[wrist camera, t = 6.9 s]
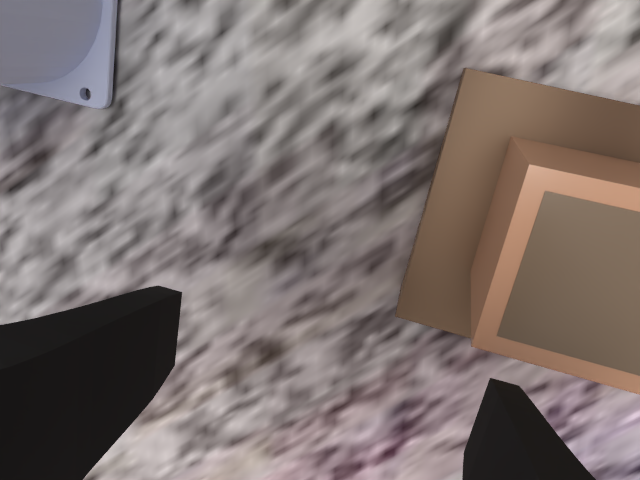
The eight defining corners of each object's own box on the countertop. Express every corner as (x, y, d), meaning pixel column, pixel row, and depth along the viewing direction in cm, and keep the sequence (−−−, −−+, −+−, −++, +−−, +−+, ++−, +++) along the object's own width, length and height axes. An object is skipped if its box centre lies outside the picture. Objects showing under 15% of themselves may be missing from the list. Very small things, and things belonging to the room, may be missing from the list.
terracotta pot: (470, 271, 19) (471, 347, 14) (511, 136, 17) (529, 164, 12) (614, 308, 18) (673, 405, 13) (672, 169, 16) (766, 216, 11)
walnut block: (401, 285, 23) (395, 316, 20) (463, 68, 19) (466, 68, 17) (620, 347, 21) (646, 389, 18) (723, 124, 18) (773, 134, 15)
